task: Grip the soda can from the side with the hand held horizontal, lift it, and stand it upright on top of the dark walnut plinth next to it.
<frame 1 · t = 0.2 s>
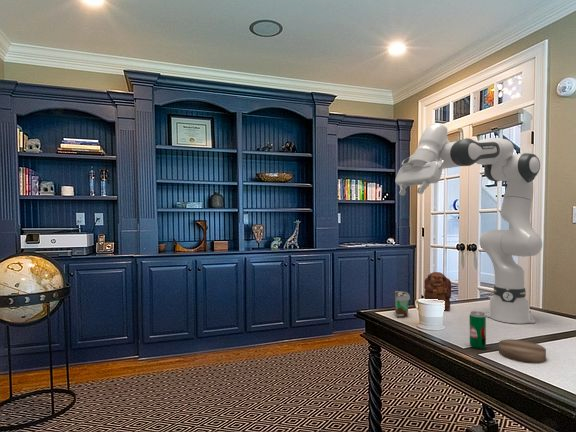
hand: (410, 193, 139), 54 cm above the table, tool tilted 30°, fingers open, 8 cm apart
food container: (403, 315, 170), on the table
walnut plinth: (521, 355, 122), on the table
wooden figurine: (437, 309, 180), on the table
soda can: (477, 347, 129), on the table
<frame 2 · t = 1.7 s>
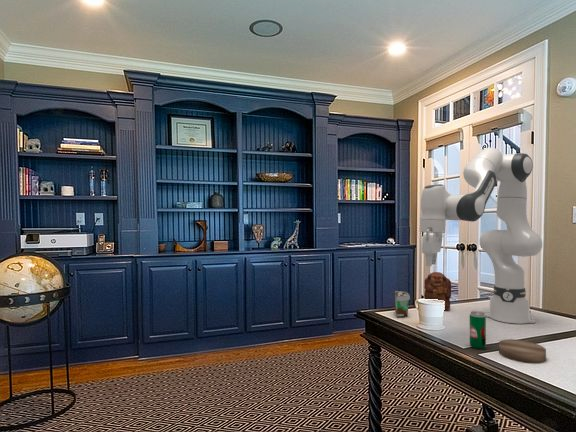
hand: (431, 265, 137), 27 cm above the table, tool pointing down, fingers open, 8 cm apart
nothing on the table moved.
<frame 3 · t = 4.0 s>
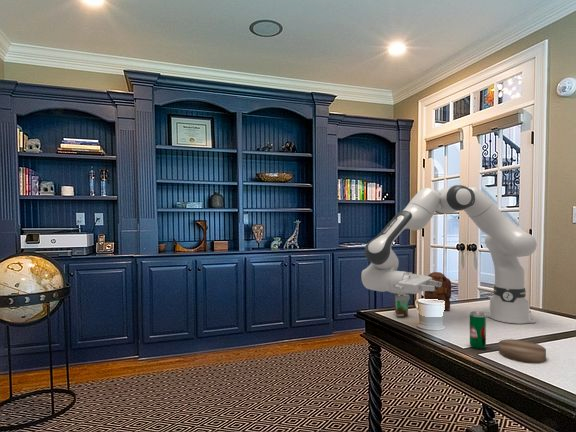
hand: (437, 286, 137), 20 cm above the table, tool horizontal, fingers open, 8 cm apart
nothing on the table moved.
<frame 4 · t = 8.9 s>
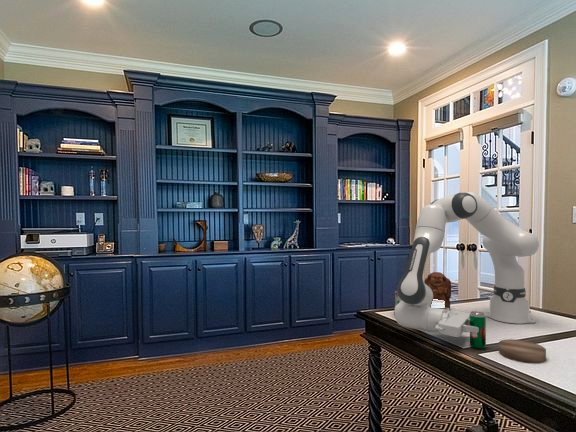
hand: (480, 327, 129), 7 cm above the table, tool horizontal, fingers closed on soda can, 5 cm apart
soda can: (477, 347, 129), on the table, touching gripper
everything else where it was.
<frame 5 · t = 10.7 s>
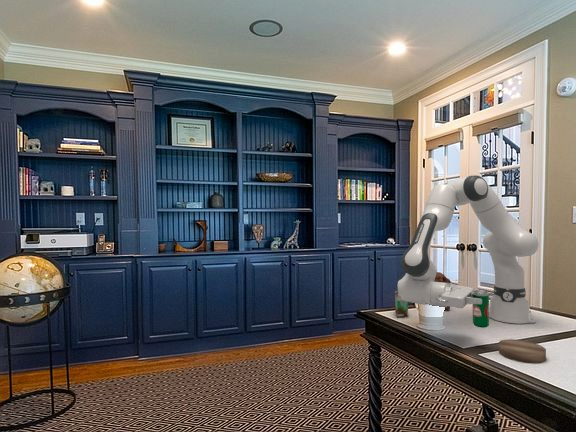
hand: (483, 299, 128), 17 cm above the table, tool horizontal, fingers closed on soda can, 5 cm apart
soda can: (480, 326, 129), point 7 cm above the table, touching gripper
everything else where it was.
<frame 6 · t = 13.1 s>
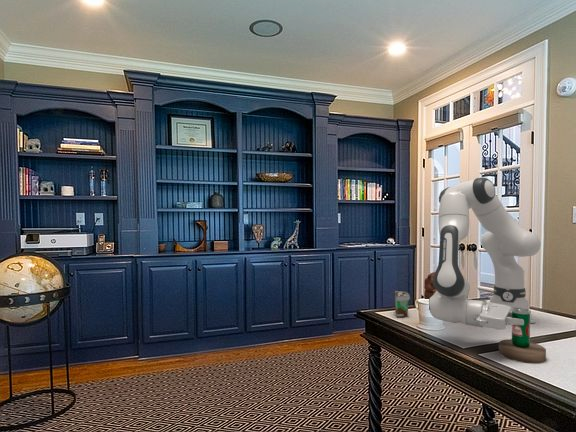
hand: (524, 319, 121), 12 cm above the table, tool horizontal, fingers closed on soda can, 5 cm apart
soda can: (520, 345, 122), point 3 cm above the table, touching gripper, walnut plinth
everything else where it was.
when the fingers open (12 cm above the table, at t = 13.5 s): soda can stays where it is, resting on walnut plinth.
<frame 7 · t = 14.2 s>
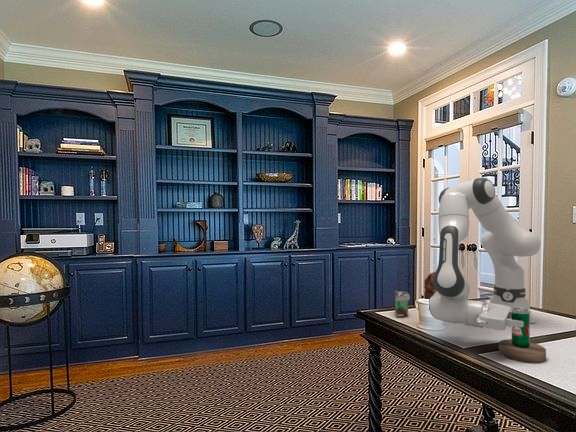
hand: (524, 320, 121), 12 cm above the table, tool horizontal, fingers open, 8 cm apart
soda can: (520, 346, 122), point 3 cm above the table, touching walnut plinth
everything else where it was.
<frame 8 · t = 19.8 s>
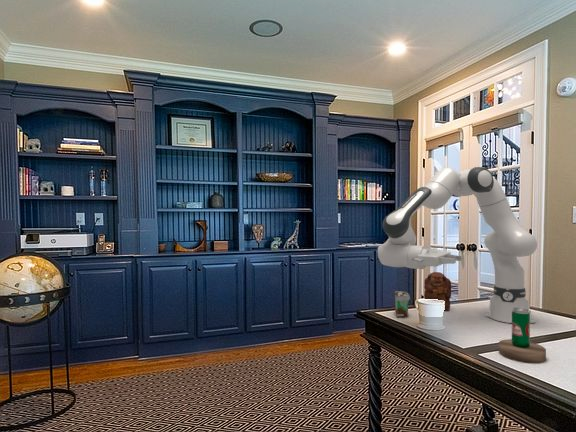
hand: (458, 259, 133), 30 cm above the table, tool horizontal, fingers open, 8 cm apart
nothing on the table moved.
at the end: soda can inside the target area on the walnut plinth (0.5 cm from its centre), point 2.8 cm above the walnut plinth's base; soda can tilted 0°; the gripper is holding nothing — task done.
